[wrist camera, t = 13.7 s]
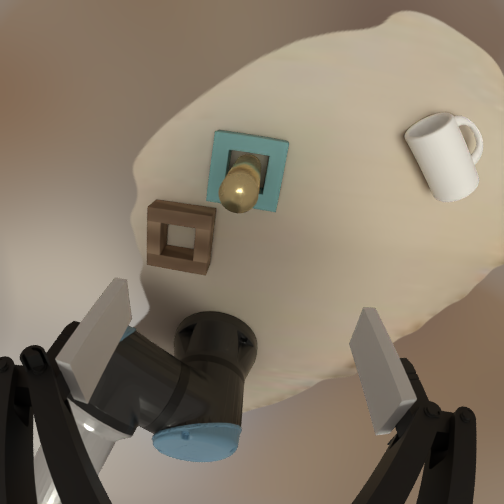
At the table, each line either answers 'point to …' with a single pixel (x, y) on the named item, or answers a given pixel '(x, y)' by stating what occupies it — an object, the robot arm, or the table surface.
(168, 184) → the table surface
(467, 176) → the mug
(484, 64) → the table surface
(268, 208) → the socket block
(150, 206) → the mount block
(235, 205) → the pin
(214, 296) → the table surface
